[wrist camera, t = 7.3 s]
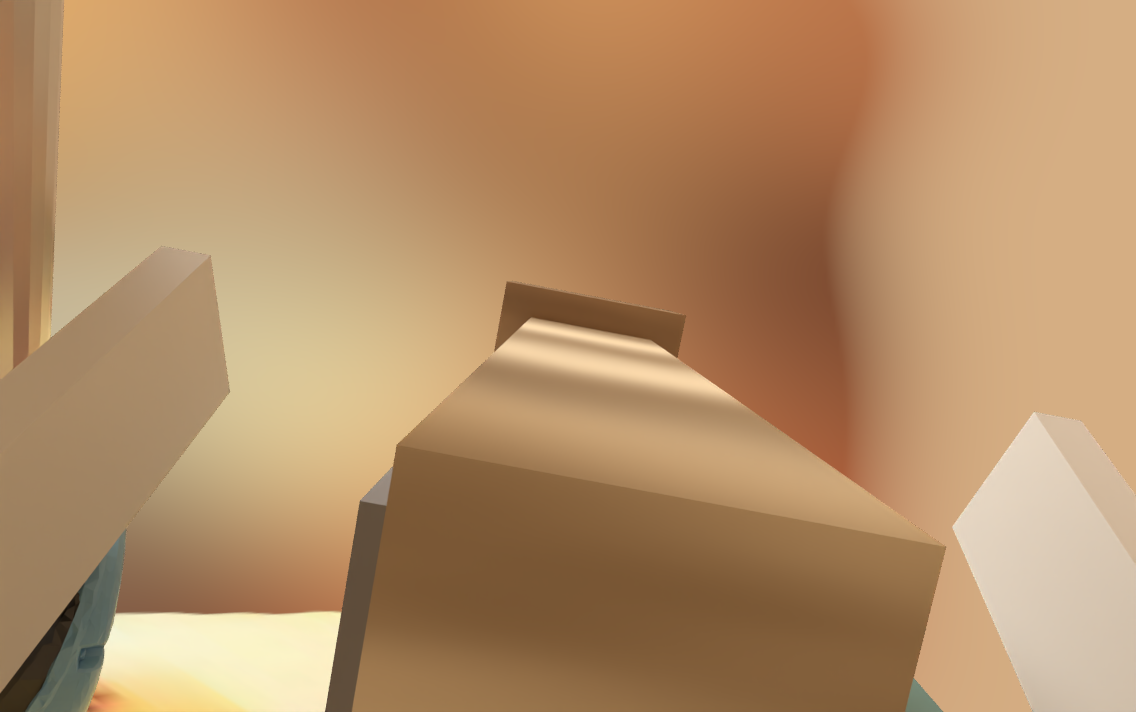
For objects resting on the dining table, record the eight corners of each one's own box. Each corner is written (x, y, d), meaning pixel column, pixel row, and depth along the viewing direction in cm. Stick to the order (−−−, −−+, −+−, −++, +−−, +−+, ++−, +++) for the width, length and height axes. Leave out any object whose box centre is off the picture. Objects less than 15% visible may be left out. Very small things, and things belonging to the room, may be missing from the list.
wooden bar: (949, 1061, 6) (1117, 437, 5) (181, 928, 6) (278, 277, 5) (643, 436, 29) (669, 310, 28) (492, 408, 28) (515, 281, 28)
